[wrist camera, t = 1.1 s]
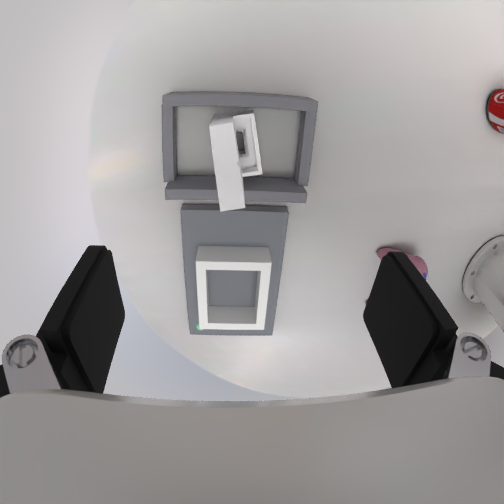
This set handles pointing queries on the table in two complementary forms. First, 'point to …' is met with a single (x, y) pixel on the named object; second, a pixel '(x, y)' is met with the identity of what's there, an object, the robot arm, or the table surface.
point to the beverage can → (496, 110)
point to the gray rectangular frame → (253, 186)
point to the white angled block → (234, 156)
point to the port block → (232, 267)
